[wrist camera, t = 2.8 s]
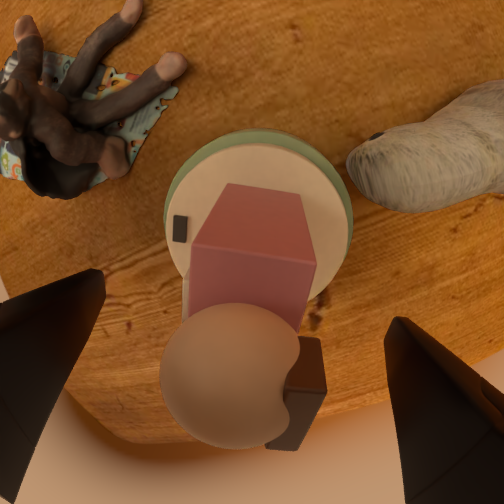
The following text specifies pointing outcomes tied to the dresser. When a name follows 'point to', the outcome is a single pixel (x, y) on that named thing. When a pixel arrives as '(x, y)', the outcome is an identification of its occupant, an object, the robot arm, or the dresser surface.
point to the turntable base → (269, 138)
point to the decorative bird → (436, 155)
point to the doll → (250, 295)
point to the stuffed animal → (77, 109)
